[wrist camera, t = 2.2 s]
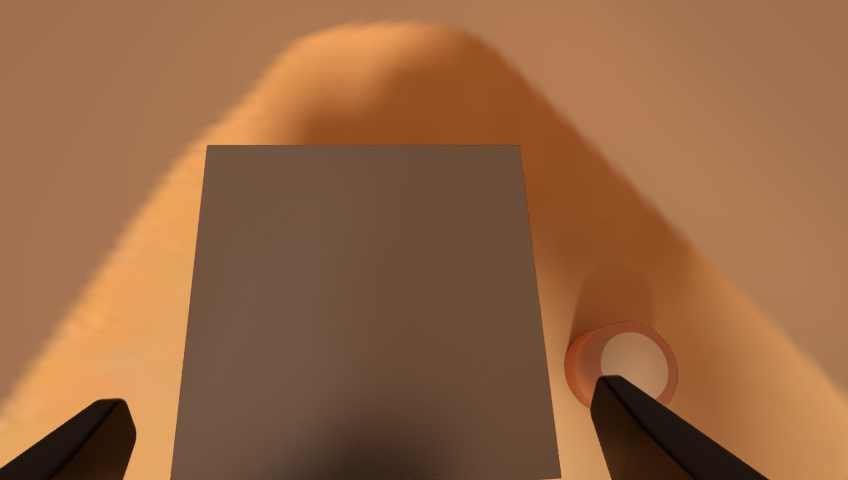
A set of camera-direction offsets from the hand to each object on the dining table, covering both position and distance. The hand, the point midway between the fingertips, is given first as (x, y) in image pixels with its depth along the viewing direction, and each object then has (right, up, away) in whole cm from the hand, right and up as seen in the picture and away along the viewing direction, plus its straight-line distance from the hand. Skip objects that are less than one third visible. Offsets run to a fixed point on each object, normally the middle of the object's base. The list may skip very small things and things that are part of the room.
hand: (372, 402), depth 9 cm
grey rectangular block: (-1, -1, +9) cm, 9 cm away
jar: (+8, -2, +10) cm, 13 cm away
